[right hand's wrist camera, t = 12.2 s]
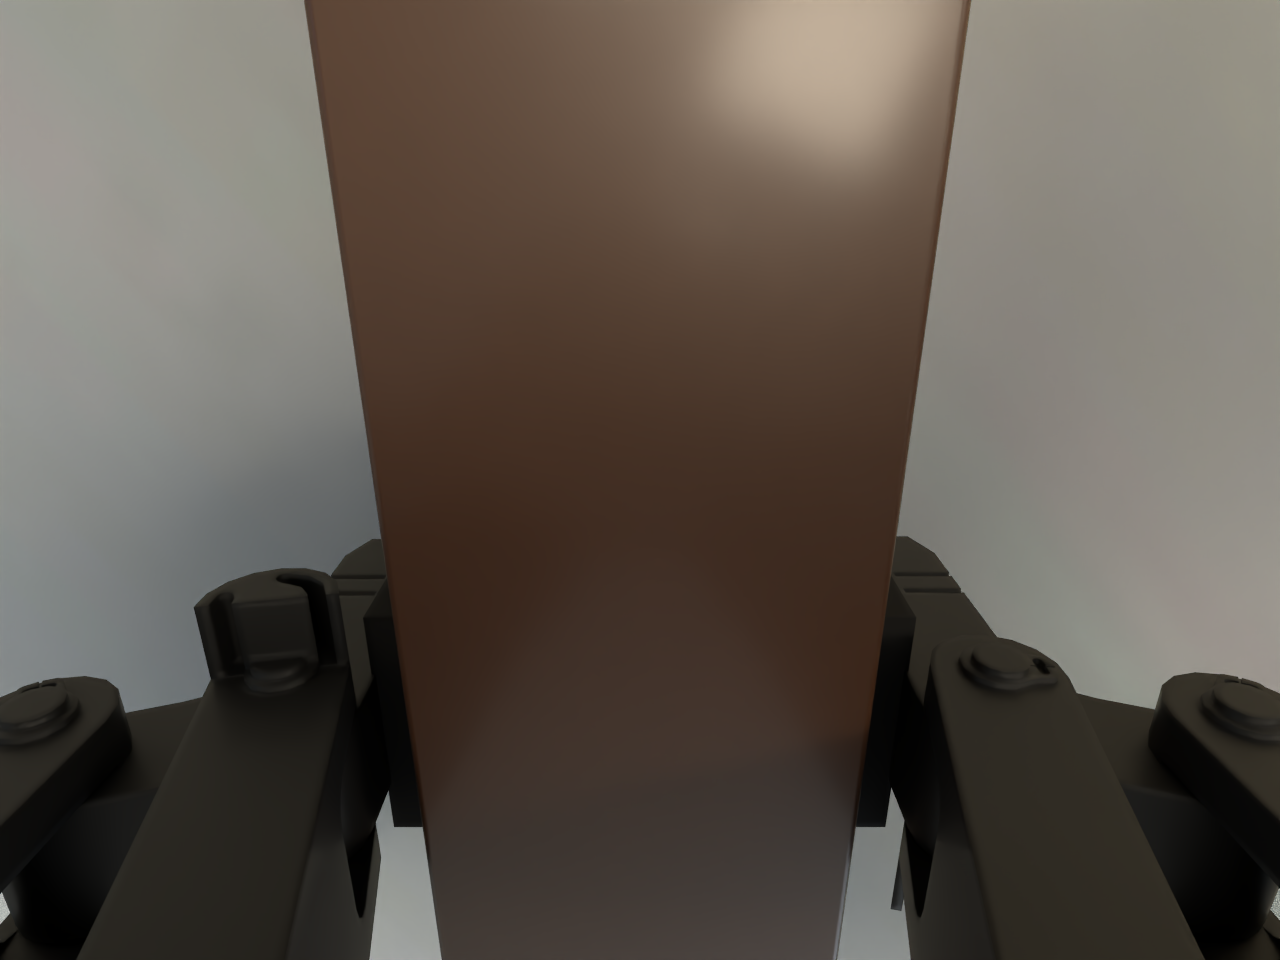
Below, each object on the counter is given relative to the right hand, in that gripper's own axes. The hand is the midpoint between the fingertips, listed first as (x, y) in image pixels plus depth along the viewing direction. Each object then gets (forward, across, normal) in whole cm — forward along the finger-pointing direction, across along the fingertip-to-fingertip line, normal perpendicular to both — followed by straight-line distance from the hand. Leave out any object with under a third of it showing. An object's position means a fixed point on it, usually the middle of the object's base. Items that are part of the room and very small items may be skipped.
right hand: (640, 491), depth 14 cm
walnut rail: (-1, 0, -11) cm, 11 cm away
